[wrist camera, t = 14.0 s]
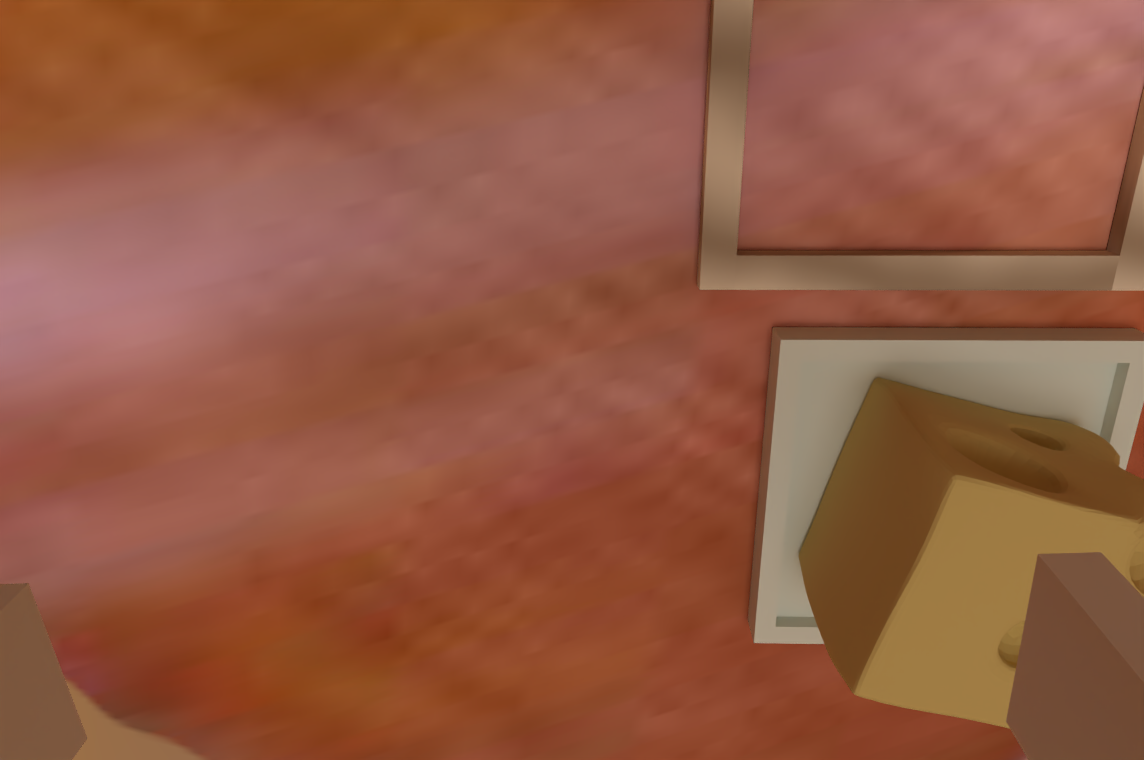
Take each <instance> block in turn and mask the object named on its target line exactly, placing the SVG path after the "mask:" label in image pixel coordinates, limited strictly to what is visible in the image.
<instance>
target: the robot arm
mask: <svg viewBox="0 0 1144 760" xmlns="http://www.w3.org/2000/svg"><path fill="white" fill-rule="evenodd" d="M1006 722H1007V724H1008V725H1009V727H1010V729H1011V731H1012V732H1013V734H1014V736H1015V737H1016V739H1017V741H1018V743H1019V744H1020V746H1021V748H1022V750H1023V751H1024V753H1025V755H1026V756H1027V758H1028V760H1144V597H1143V596H1142V595H1141V594H1140V593H1139V592H1138V591H1137V590H1136V589H1135V588H1134V587H1133V586H1132V585H1131V583H1130V582H1129V581H1128V580H1127V579H1126V578H1125V577H1124V576H1123V575H1122V574H1121V573H1120V572H1119V571H1118V570H1117V569H1116V568H1115V567H1114V565H1113V564H1112V563H1111V562H1110V561H1109V560H1108V559H1107V558H1106V557H1105V556H1104V555H1103V554H1102V553H1101V552H1087V553H1053V554H1038V556H1037V561H1036V566H1035V571H1034V577H1033V582H1032V587H1031V592H1030V598H1029V603H1028V608H1027V613H1026V619H1025V624H1024V629H1023V634H1022V640H1021V645H1020V650H1019V655H1018V661H1017V666H1016V671H1015V676H1014V682H1013V687H1012V692H1011V697H1010V702H1009V708H1008V713H1007V718H1006ZM86 740H87V736H86V734H85V731H84V729H83V726H82V723H81V720H80V718H79V715H78V713H77V710H76V707H75V705H74V702H73V699H72V697H71V694H70V692H69V689H68V686H67V684H66V681H65V678H64V676H63V673H62V670H61V668H60V665H59V662H58V660H57V657H56V655H55V652H54V649H53V647H52V644H51V641H50V639H49V636H48V633H47V631H46V628H45V626H44V623H43V620H42V618H41V615H40V612H39V610H38V607H37V604H36V602H35V599H34V597H33V594H32V591H31V589H30V586H29V583H25V584H0V760H72V759H73V758H74V756H75V755H76V753H77V752H78V751H79V749H80V748H81V747H82V745H83V744H84V742H85V741H86Z"/></svg>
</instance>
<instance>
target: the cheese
mask: <svg viewBox="0 0 1144 760" xmlns="http://www.w3.org/2000/svg"><path fill="white" fill-rule="evenodd" d="M1119 464H1120V456H1119V454H1118V453H1117V452H1116V450H1115V449H1114V448H1113V446H1112V445H1111V444H1109V443H1108V442H1107V441H1106V440H1105V439H1104V438H1102V437H1101V436H1099V435H1097V434H1096V433H1093V432H1091V431H1089V430H1087V429H1084V428H1082V427H1079V426H1077V425H1074V424H1071V423H1067V422H1063V421H1058V420H1052V419H1046V418H1040V417H1034V416H1028V415H1022V414H1017V413H1012V412H1008V411H1004V410H999V409H995V408H992V407H988V406H984V405H981V404H977V403H973V402H969V401H965V400H962V399H958V398H954V397H950V396H946V395H942V394H939V393H935V392H931V391H927V390H923V389H920V388H916V387H913V386H909V385H906V384H902V383H899V382H895V381H891V380H887V379H883V378H876V379H875V380H874V381H873V382H872V384H871V386H870V389H869V391H868V393H867V395H866V398H865V400H864V402H863V405H862V407H861V409H860V411H859V413H858V416H857V418H856V420H855V422H854V425H853V427H852V429H851V431H850V433H849V436H848V438H847V440H846V442H845V445H844V447H843V449H842V452H841V454H840V456H839V459H838V461H837V463H836V466H835V468H834V471H833V473H832V476H831V478H830V481H829V483H828V486H827V488H826V491H825V493H824V496H823V498H822V501H821V503H820V506H819V508H818V511H817V514H816V516H815V518H814V521H813V523H812V526H811V528H810V530H809V532H808V534H807V537H806V539H805V541H804V543H803V546H802V548H801V550H800V552H799V561H800V566H801V571H802V576H803V581H804V585H805V589H806V593H807V597H808V600H809V603H810V606H811V609H812V612H813V615H814V618H815V621H816V623H817V626H818V629H819V631H820V634H821V637H822V639H823V642H824V644H825V647H826V649H827V651H828V654H829V656H830V658H831V660H832V662H833V664H834V665H835V667H836V669H837V670H838V672H839V673H840V675H841V676H842V678H843V679H844V681H845V682H846V683H847V685H848V687H849V688H850V690H851V691H852V693H853V694H855V695H857V696H859V697H863V698H867V699H871V700H874V701H877V702H881V703H885V704H889V705H894V706H898V707H903V708H908V709H914V710H919V711H925V712H931V713H936V714H942V715H948V716H953V717H958V718H964V719H969V720H974V721H979V722H983V723H988V724H993V725H997V726H1001V727H1006V728H1010V727H1009V725H1008V724H1007V722H1006V718H1007V713H1008V708H1009V702H1010V697H1011V692H1012V687H1013V682H1014V676H1015V671H1016V666H1017V661H1018V655H1019V650H1020V645H1021V640H1022V634H1023V629H1024V624H1025V619H1026V613H1027V608H1028V603H1029V598H1030V592H1031V587H1032V582H1033V577H1034V571H1035V566H1036V561H1037V556H1038V554H1053V553H1087V552H1101V553H1102V554H1103V555H1104V556H1105V557H1106V558H1107V559H1108V560H1109V561H1110V562H1111V563H1112V564H1113V565H1114V567H1115V568H1116V569H1117V570H1118V571H1119V572H1120V573H1121V574H1122V575H1123V576H1124V577H1125V578H1126V579H1127V580H1128V581H1129V582H1130V583H1131V585H1132V586H1133V587H1134V588H1135V589H1136V590H1137V591H1138V592H1139V593H1140V594H1141V595H1142V596H1143V597H1144V479H1141V478H1139V477H1137V476H1135V475H1133V474H1131V473H1129V472H1127V471H1125V470H1123V469H1122V468H1120V467H1119Z"/></svg>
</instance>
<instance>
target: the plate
mask: <svg viewBox="0 0 1144 760" xmlns="http://www.w3.org/2000/svg"><path fill="white" fill-rule="evenodd" d="M876 378H883V379H887V380H891V381H895V382H899V383H902V384H906V385H909V386H913V387H916V388H920V389H923V390H927V391H931V392H935V393H939V394H942V395H946V396H950V397H954V398H958V399H962V400H965V401H969V402H973V403H977V404H981V405H984V406H988V407H992V408H995V409H999V410H1004V411H1008V412H1012V413H1017V414H1022V415H1028V416H1034V417H1040V418H1046V419H1052V420H1058V421H1063V422H1067V423H1071V424H1074V425H1077V426H1079V427H1082V428H1084V429H1087V430H1089V431H1091V432H1093V433H1096V434H1097V435H1099V436H1101V437H1102V438H1104V439H1105V440H1106V441H1107V442H1108V443H1109V444H1111V445H1112V446H1113V448H1114V449H1115V450H1116V452H1117V453H1118V454H1119V456H1120V464H1119V467H1120V468H1122V469H1123V470H1126V467H1127V463H1128V459H1129V455H1130V451H1131V448H1132V444H1133V440H1134V436H1135V432H1136V429H1137V425H1138V421H1139V417H1140V414H1141V410H1142V406H1143V402H1144V333H1143V332H1141V331H1139V330H1137V329H1135V328H919V327H773V329H772V341H771V353H770V365H769V376H768V388H767V400H766V412H765V423H764V435H763V447H762V459H761V470H760V482H759V494H758V506H757V517H756V529H755V541H754V553H753V564H752V576H751V588H750V599H749V611H748V623H749V627H750V631H751V635H752V638H753V642H754V643H792V644H824V642H823V639H822V637H821V634H820V631H819V629H818V626H817V623H816V621H815V618H814V615H813V612H812V609H811V606H810V603H809V600H808V597H807V593H806V589H805V585H804V581H803V576H802V571H801V566H800V561H799V552H800V550H801V548H802V546H803V543H804V541H805V539H806V537H807V534H808V532H809V530H810V528H811V526H812V523H813V521H814V518H815V516H816V514H817V511H818V508H819V506H820V503H821V501H822V498H823V496H824V493H825V491H826V488H827V486H828V483H829V481H830V478H831V476H832V473H833V471H834V468H835V466H836V463H837V461H838V459H839V456H840V454H841V452H842V449H843V447H844V445H845V442H846V440H847V438H848V436H849V433H850V431H851V429H852V427H853V425H854V422H855V420H856V418H857V416H858V413H859V411H860V409H861V407H862V405H863V402H864V400H865V398H866V395H867V393H868V391H869V389H870V386H871V384H872V382H873V381H874V380H875V379H876Z"/></svg>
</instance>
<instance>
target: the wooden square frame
mask: <svg viewBox="0 0 1144 760" xmlns="http://www.w3.org/2000/svg"><path fill="white" fill-rule="evenodd" d="M753 2H754V0H711V10H710V30H709V51H708V71H707V91H706V111H705V131H704V152H703V172H702V192H701V212H700V232H699V252H698V273H697V285H698V287H699V290H1144V89H1143V93H1142V98H1141V102H1140V106H1139V111H1138V115H1137V119H1136V124H1135V128H1134V133H1133V137H1132V141H1131V146H1130V150H1129V154H1128V159H1127V163H1126V167H1125V172H1124V176H1123V180H1122V185H1121V189H1120V193H1119V198H1118V202H1117V207H1116V211H1115V215H1114V220H1113V224H1112V228H1111V233H1110V237H1109V241H1108V246H1107V250H737V243H738V228H739V213H740V198H741V183H742V168H743V153H744V137H745V122H746V107H747V92H748V77H749V62H750V47H751V32H752V17H753Z"/></svg>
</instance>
